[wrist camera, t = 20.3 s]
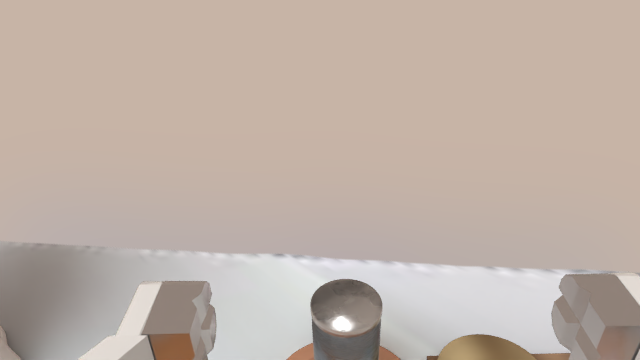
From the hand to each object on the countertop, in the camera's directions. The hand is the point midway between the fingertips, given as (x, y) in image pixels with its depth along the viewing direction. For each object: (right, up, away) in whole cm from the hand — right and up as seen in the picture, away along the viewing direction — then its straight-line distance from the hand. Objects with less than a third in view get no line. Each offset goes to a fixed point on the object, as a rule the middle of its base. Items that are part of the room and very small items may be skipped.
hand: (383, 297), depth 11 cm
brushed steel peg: (+1, -16, +29) cm, 33 cm away
